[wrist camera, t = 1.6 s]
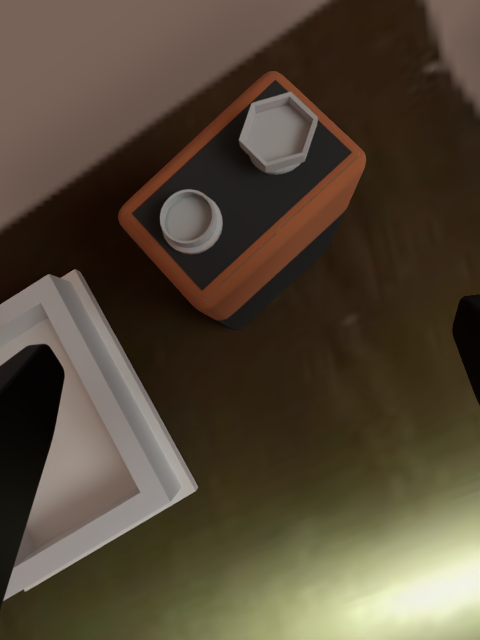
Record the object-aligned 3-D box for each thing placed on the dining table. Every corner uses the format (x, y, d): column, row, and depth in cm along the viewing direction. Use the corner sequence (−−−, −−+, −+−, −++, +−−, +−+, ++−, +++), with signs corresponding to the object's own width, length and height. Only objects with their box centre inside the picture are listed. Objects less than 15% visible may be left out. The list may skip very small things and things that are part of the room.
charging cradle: (198, 486, 20) (185, 506, 17) (32, 584, 20) (-4, 618, 17) (80, 271, 21) (52, 259, 19) (-70, 365, 22) (-117, 366, 19)
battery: (333, 245, 20) (386, 137, 10) (236, 335, 20) (194, 313, 10) (275, 187, 21) (272, 32, 11) (182, 274, 21) (91, 199, 11)
